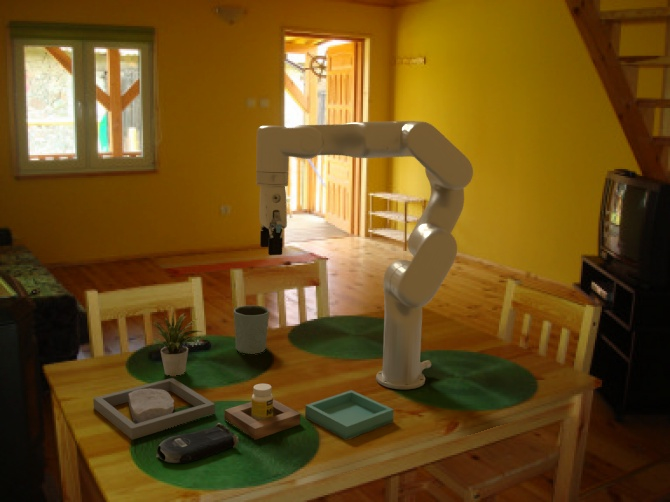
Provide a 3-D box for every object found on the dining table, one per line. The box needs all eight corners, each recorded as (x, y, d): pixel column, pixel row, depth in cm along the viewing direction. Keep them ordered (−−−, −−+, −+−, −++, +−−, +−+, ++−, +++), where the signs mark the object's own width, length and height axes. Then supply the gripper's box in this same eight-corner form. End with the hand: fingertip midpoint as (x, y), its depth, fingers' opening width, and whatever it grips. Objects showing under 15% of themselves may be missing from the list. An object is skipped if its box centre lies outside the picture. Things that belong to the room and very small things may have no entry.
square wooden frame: (268, 406, 163) (268, 396, 163) (300, 424, 154) (300, 413, 154) (224, 420, 156) (224, 409, 155) (255, 439, 147) (255, 428, 146)
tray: (351, 401, 167) (351, 390, 166) (393, 421, 157) (393, 409, 156) (305, 417, 158) (305, 405, 157) (346, 440, 148) (346, 426, 147)
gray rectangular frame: (172, 387, 173) (172, 377, 173) (215, 414, 159) (214, 404, 158) (93, 408, 160) (93, 397, 160) (132, 439, 146) (131, 428, 145)
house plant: (159, 389, 172) (157, 325, 169) (134, 372, 182) (131, 312, 179) (209, 375, 181) (208, 315, 178) (183, 360, 192) (181, 303, 188)
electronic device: (215, 439, 150) (149, 449, 141) (219, 416, 149) (153, 424, 140) (236, 462, 143) (168, 474, 134) (241, 437, 142) (172, 448, 133)
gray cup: (239, 343, 207) (239, 304, 205) (272, 345, 206) (272, 306, 203) (229, 354, 197) (229, 313, 195) (264, 357, 196) (264, 316, 194)
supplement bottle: (269, 428, 152) (269, 392, 151) (248, 425, 153) (248, 389, 152) (275, 419, 157) (275, 383, 155) (255, 416, 158) (255, 381, 156)
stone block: (167, 406, 167) (124, 405, 163) (170, 387, 166) (128, 385, 162) (176, 429, 156) (131, 428, 152) (180, 409, 156) (134, 407, 151)
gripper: (296, 183, 157) (294, 257, 160) (279, 175, 173) (278, 243, 176) (263, 182, 154) (262, 258, 158) (249, 175, 171) (249, 244, 174)
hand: (270, 250), depth 167 cm, fingers open, 9 cm apart
